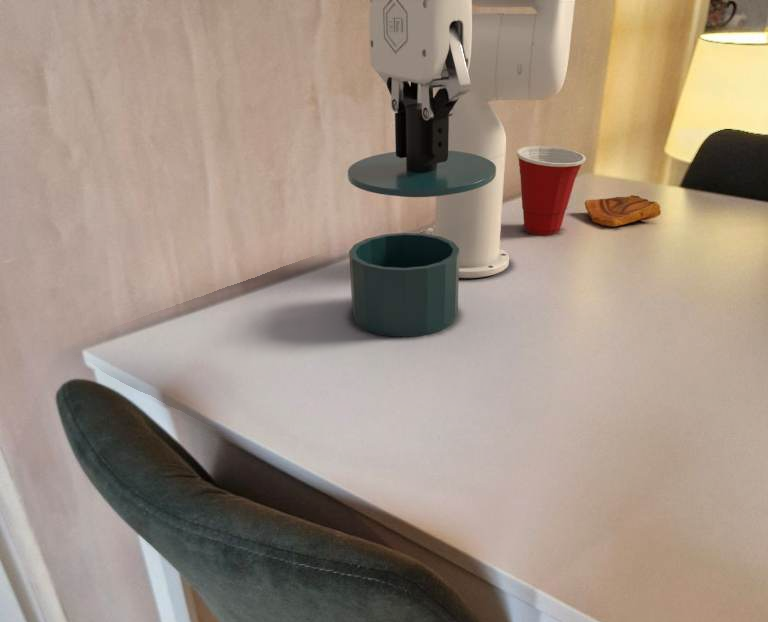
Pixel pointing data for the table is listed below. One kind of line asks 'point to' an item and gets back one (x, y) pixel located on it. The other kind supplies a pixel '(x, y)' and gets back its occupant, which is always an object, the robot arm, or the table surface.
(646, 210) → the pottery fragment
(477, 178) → the lid
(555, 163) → the plastic cup
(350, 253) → the pot
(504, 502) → the table surface
